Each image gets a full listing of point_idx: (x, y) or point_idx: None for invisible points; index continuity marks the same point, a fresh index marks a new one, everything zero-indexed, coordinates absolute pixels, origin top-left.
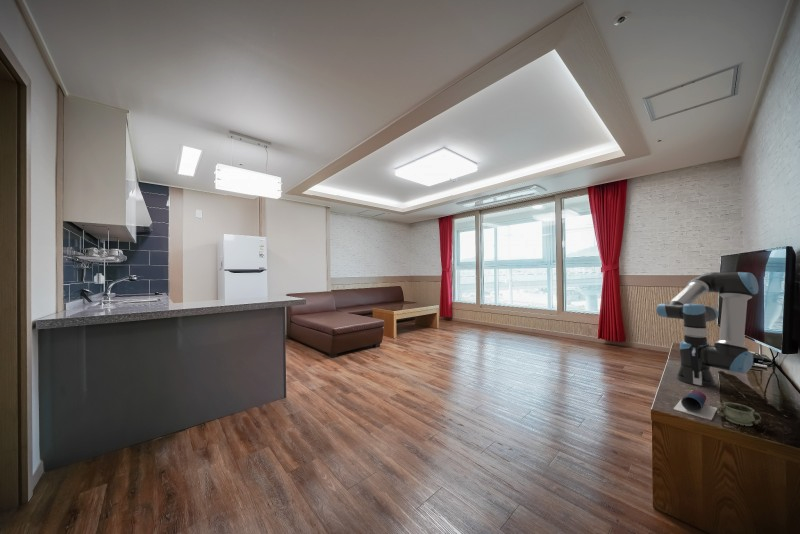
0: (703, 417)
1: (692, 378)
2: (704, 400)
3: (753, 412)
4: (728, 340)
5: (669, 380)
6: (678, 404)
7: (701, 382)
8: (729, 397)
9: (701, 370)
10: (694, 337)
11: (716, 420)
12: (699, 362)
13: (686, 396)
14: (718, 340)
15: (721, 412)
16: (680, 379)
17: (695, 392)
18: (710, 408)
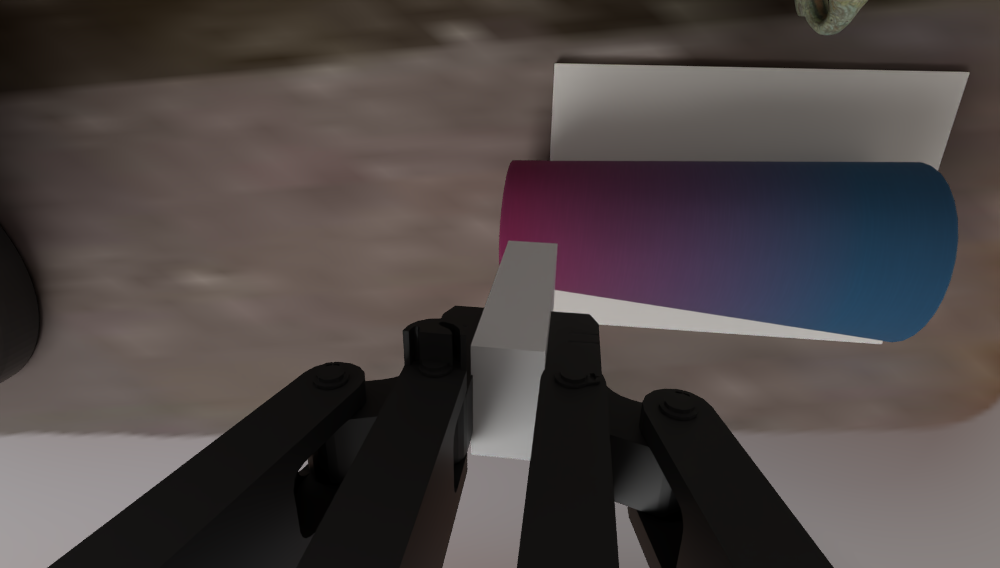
0: (949, 134)
1: None
2: (672, 166)
3: None
4: None
5: (104, 420)
6: (723, 324)
7: (526, 256)
8: (90, 7)
9: (466, 351)
10: None
11: (928, 36)
12: (571, 558)
13: (923, 324)
14: None
15: (825, 2)
16: (17, 367)
17: (614, 262)
18: (620, 110)
